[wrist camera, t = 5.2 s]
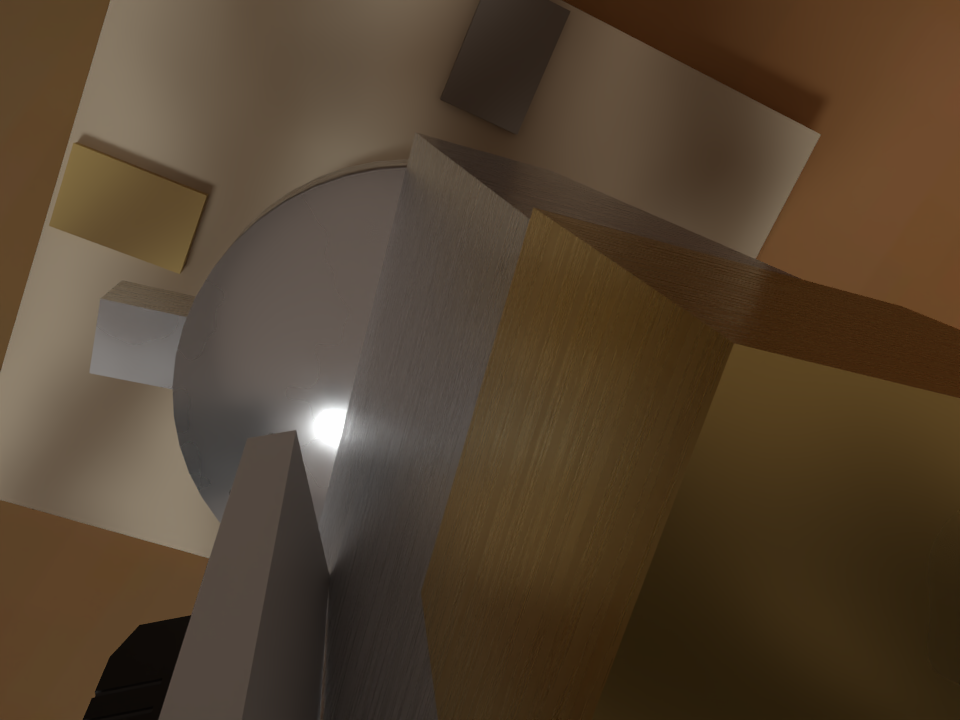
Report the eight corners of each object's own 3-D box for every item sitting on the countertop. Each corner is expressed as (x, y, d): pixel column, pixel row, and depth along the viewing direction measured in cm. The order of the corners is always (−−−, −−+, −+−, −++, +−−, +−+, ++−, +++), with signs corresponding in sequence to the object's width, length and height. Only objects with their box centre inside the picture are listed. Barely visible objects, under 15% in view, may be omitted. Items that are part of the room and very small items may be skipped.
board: (-18, 472, 26) (-39, 494, 24) (179, -187, 21) (167, -207, 20) (540, 632, 31) (549, 658, 29) (800, 132, 26) (826, 134, 25)
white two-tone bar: (85, 528, 19) (-821, 2039, 4) (159, 51, 16) (-1919, -300, 1) (593, 607, 22) (1086, 1673, 7) (736, 215, 19) (2064, 667, 4)
